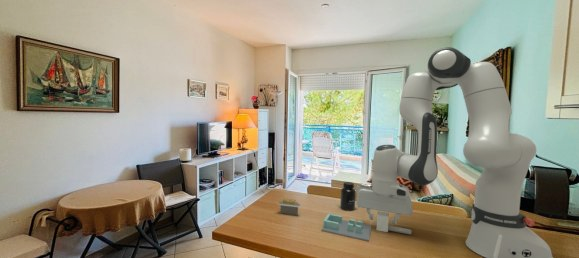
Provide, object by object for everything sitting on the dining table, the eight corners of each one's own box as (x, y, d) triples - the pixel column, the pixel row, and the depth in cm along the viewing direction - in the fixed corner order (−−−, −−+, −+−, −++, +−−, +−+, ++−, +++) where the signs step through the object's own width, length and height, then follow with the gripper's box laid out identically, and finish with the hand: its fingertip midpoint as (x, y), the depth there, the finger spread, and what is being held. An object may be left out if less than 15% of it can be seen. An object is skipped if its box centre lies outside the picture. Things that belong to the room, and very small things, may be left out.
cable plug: (410, 232, 89) (411, 216, 89) (411, 237, 85) (412, 221, 85) (377, 225, 94) (377, 211, 93) (376, 230, 90) (377, 214, 90)
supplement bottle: (352, 212, 107) (353, 186, 106) (338, 208, 110) (339, 183, 110) (356, 207, 113) (357, 182, 112) (343, 204, 116) (343, 180, 115)
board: (371, 226, 93) (371, 219, 93) (368, 241, 82) (369, 233, 82) (329, 218, 100) (329, 211, 100) (321, 230, 89) (321, 223, 89)
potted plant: (274, 206, 112) (274, 193, 112) (311, 211, 108) (312, 197, 107) (265, 217, 101) (265, 202, 100) (306, 223, 96) (307, 207, 96)
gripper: (355, 185, 92) (354, 219, 93) (414, 193, 84) (412, 230, 85) (357, 181, 97) (356, 213, 98) (412, 188, 90) (410, 223, 90)
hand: (382, 221), depth 91 cm, fingers open, 7 cm apart
